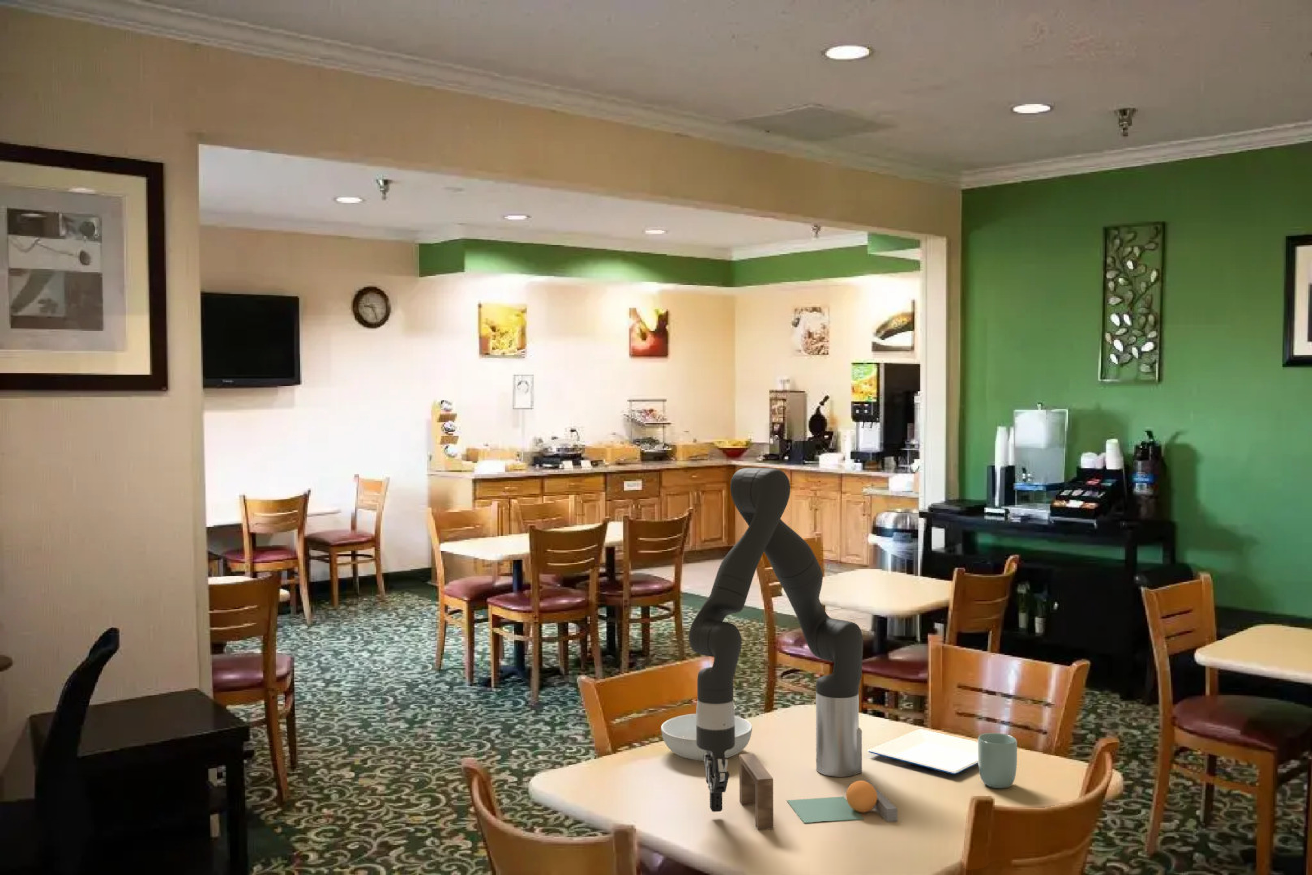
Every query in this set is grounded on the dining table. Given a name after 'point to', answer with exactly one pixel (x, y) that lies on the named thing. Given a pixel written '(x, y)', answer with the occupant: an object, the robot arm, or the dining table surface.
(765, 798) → the bridge
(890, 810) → the stopper
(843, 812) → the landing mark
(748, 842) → the dining table surface
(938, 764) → the plate
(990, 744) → the cup
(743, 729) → the serving bowl
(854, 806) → the ball
